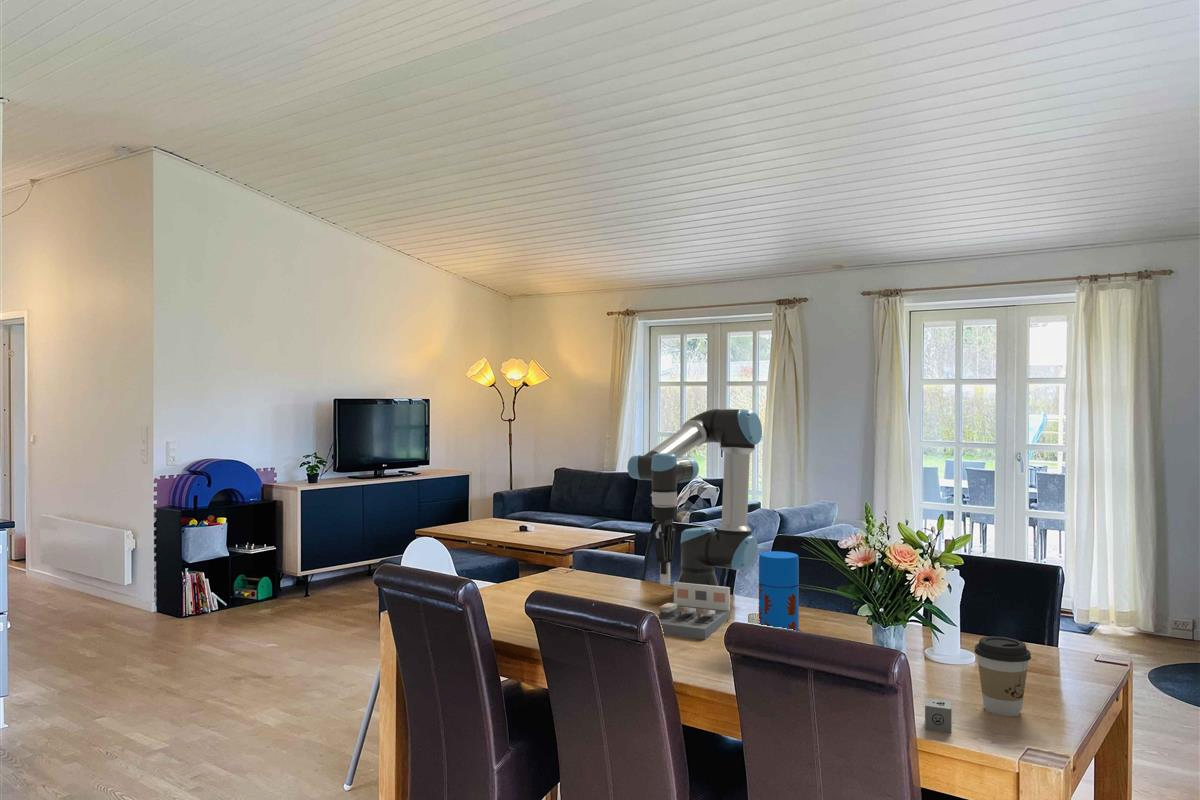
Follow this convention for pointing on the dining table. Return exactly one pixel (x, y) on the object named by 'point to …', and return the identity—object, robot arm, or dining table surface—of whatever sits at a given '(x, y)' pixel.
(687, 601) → the switch unit
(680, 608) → the switch
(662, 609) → the switch
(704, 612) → the switch
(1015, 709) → the coffee cup
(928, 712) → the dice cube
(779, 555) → the thermos
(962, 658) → the dining table surface
